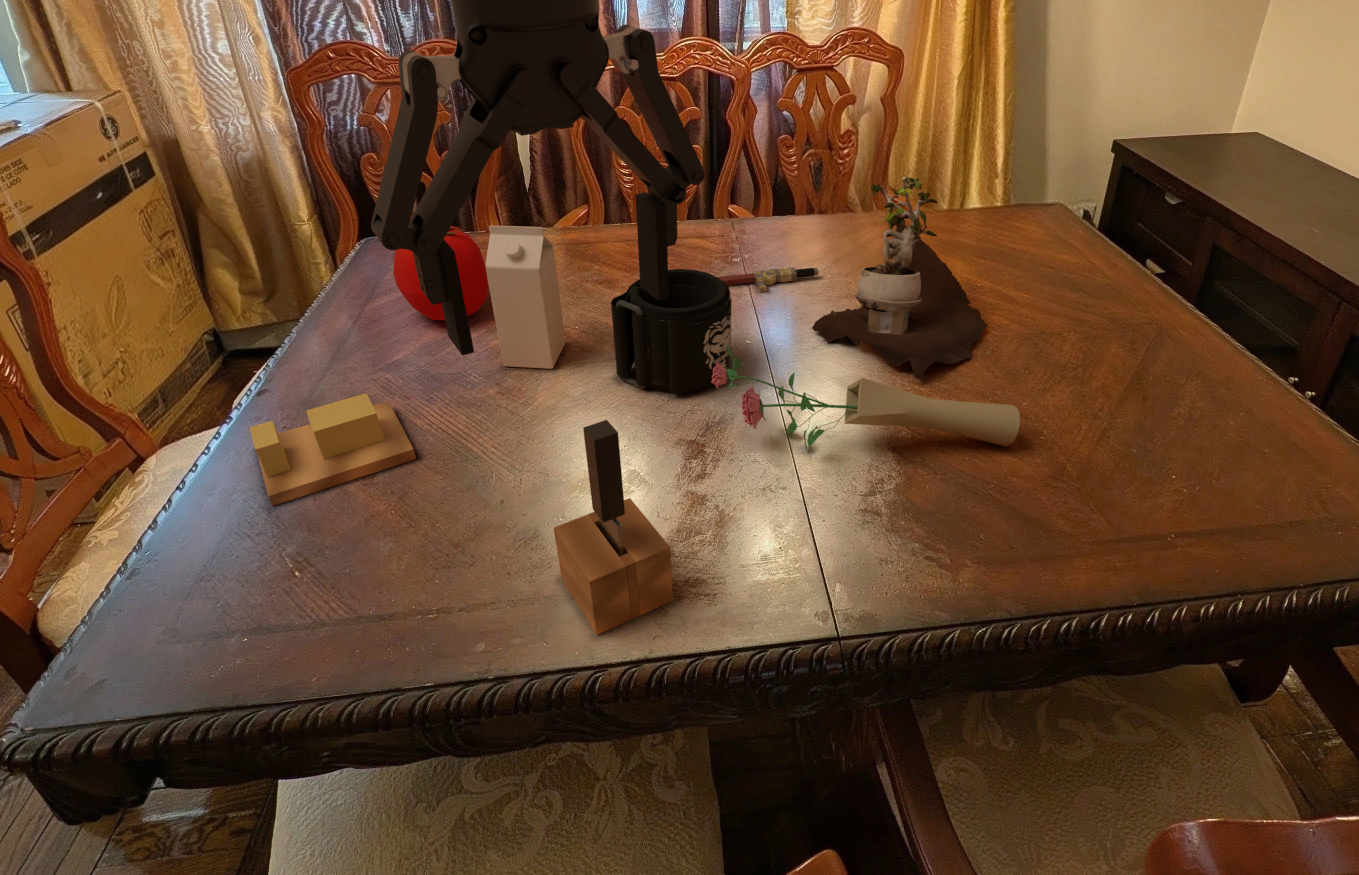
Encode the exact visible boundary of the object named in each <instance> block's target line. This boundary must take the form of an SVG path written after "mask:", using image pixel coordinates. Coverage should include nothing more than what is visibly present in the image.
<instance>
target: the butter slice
mask: <svg viewBox="0 0 1359 875" xmlns="http://www.w3.org/2000/svg"><path fill="white" fill-rule="evenodd" d="M249 429H250V434H251V438H252V443H253V446H254V450H255V452H256V454H257V458H258V457H259V458H258V460H259V459H260V462H261V464H262V466H263V469H264V471H265V473H266V476H267V477H270V476H273V475H276V474H280V473H283V472H286V471H289V470H290V467H289V463H288V460H287V457H286V453H285V450H284V447H283V445H282V442H281V440H280V437H279V435H278V433H279V432H278V430H277V427H276V425H275V422H274V421H273V420H269V421H266V422H263V423H259V424H256V425H252V426H249ZM260 462H259V463H260Z"/></svg>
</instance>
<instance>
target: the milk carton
mask: <svg viewBox="0 0 1359 875" xmlns="http://www.w3.org/2000/svg"><path fill="white" fill-rule="evenodd" d="M488 229H489V239H488V244H487V245H488V246H487V252H486V259H485V267H486V272H487V279H488V287H489V288H488V290H489V294H490V300H491V305H492V310H493V315H494V322H495V327H496V332H497V338H498V345H499V350H500V356H501V361H502V365H503V367H509V368H511V367H512V368H513V367H514V368H531V369H548V370H549V369H550V370H551V369H553V368H554V366H555V365H556V363H557V361H558V358H559V357H560V354H561V353H562V351H563V349H564V347H565V345H566V335H565V328H564V320H563V312H562V305H561V304H562V303H561V295H560V288H559V280H558V272H557V263H556V256H555V246H554V245H553V244H552V243H551V241H550V240H549V239H548V238H547V237H546V236H545V232H544V226H520V225H519V226H516V225H489V226H488Z"/></svg>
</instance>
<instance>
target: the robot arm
mask: <svg viewBox="0 0 1359 875" xmlns="http://www.w3.org/2000/svg"><path fill="white" fill-rule="evenodd" d="M450 1H451V6H452V12H453V19H454V24H455V28H456V29H455V30H456V36H457V37H456V46H455V50H454V53H453V55H423V54H421V53H418V52H417V51H415V50H411V49H407V50H404V51H402V52H401V53H400V55H399V57H398V71H399V80H400V81H399V82H400V90H401V91H400V92H401V99H400V105H399V108H398V111H397V112H398V113H397V115H396V116H397V117H396V120H395V125H394V129H393V133H392V136H391V141H390V145H389V148H388V153H387V156H386V161H385V165H384V170H383V174H382V177H381V182H380V185H379V189H378V194H377V197H376V200H375V201H376V202H375V206H374V210H373V214H372V218H371V221H370V228H371V230H372V233H373V234H374V236H376V238H377V240H378V241H379V242H380V243H381V244H382V246H383V247H384V248H385V249H386V250H389V251H395V250H398V249H407V250H411V251H412V253H413V257H414V262H415V266H416V271H417V275H418V279H419V284H420V288H421V290H422V291H423V293H424V294H425V295H426V297H427V298H428V300H429V301H430V302H431V304H432V305H434V304H439V303H442V307H443V312H444V317H445V320H444V322H445V326H446V329H447V330H446V331H447V335H448V338H449V340H450V341H451V342H452V344H453V345H454V346H455V348H456V350H458V352H459V353H460V354H461V356H466V355H470V354H473V353H475V348H474V343H473V339H472V334H471V327H470V322H469V318H468V317H469V316H467V312H466V307H465V302H464V297H463V291H462V286H461V281H460V276H459V271H458V266H457V260H456V255H455V251H454V250H453V249H452V248H451V247H450V246H449V244H448V243H447V242H446V241H445V240H444V238H445V236H446V234H447V232H448V230H449V229H450V227H451V226H453V224H454V222H455V220H456V218H457V216H458V215H459V213H460V211H461V209H462V207H463V206H464V204H465V203H466V200H467V199H468V197H469V195H470V193H471V191H472V189H473V188H474V187H475V184H476V183H477V181H478V179H479V177H480V176H481V174H482V172H483V170H484V168H485V167H486V165H487V163H488V161H489V159H490V158H491V156H492V154H493V153H494V151H497V150H499V149H500V147H501V146H502V144H503V143H504V141H505V140H506V138H507V136H508V134H509V132H511V133H514V134H518V135H519V136H521V137H523V136H529V135H535V134H537V133H539V132H541V131H543V130H545V129H547V128H548V129H555V130H563V129H564V130H565V129H570V128H574V124H575V123H576V122H578V121H579V120H580V119H581V120H582V121H584V122H585V123H586V124H587V125H588V127H590V128H591V129H592V130H593V132H595V133H596V135H597V136H599V138H600V139H601V140H602V141H603V142H604V143H605V144H606V145H607V147H608V148H610V150H612V152H613V153H614V154H615V155H616V156H617V157H618V158H619V159H620V160H621V161H622V163H624V165H626V167H627V168H628V169H630V171H631V172H632V173H633V174H634V175H635V177H637V178H638V179H639V180H640V181H641V182H642V183H643V184H644V186H645V187H646V188H647V189H649V193H648V192H647V191H644V192H640V193H635V210H636V229H637V231H636V232H637V250H638V269H639V270H638V271H639V272H638V273H639V279H640V287H642V288H643V289H644V290H645V291H647V292H648V293H649V294H651V295H652V296H653V297H654V298H656V299H657V300H658V301H662V300H665V299H669V288H668V270H669V257H668V248H669V247H672V246H676V243H677V240H678V237H679V236H678V205H680V204H682V203H683V202H684V201H685V200H686V198H687V195H688V194H687V188H688V187H690V186H699V185H700V184H701V183H702V182H703V181H704V179H705V174H706V173H705V169H704V167H703V164H702V163H701V161H700V159H699V155H698V153H697V152H696V149H695V148H694V146H693V144H692V141H691V139H690V137H689V134H688V133H687V130H686V128H685V126H684V124H683V122H682V120H681V117H680V115H679V113H678V111H677V108H676V107H675V105H674V103H673V100H672V98H671V96H670V93H669V92H668V89H667V87H666V85H665V83H664V80H663V79H662V77H661V74H660V72H659V66H658V59H657V58H658V57H657V50H656V42H655V41H656V40H655V37H654V35H653V34H652V32H651V31H649V30H647V29H643V28H639V27H636V26H633V25H630V24H622V25H620V26H619V27H618V28H617V30H616V32H615V33H611V34H608V35H604V36H603V34H602V31H601V27H600V23H599V21H600V19H599V18H600V0H450ZM609 61H610V62H611V63H612V66H613V68H614V69H615V70H616V71H618V72H620V73H622V76H623V78H624V81H625V83H626V85H627V87H628V90H629V91H630V93H631V96H632V97H633V100H634V102H635V104H636V105H637V107H638V110H639V112H640V113H641V115H642V117H643V120H644V121H645V123H646V125H647V127H648V129H649V131H650V133H651V136H652V138H653V140H654V142H655V143H656V145H657V147H658V150H659V152H660V154H661V156H662V157H663V159H664V161H665V163H666V165H667V166H666V167H664V166H663V165H662V164H661V162H660V161H659V160H658V159H657V158H656V157H655V155H653V153H652V152H651V151H650V150H649V149H648V148H647V147H646V145H645V144H644V143H643V142H642V141H641V140H640V139H639V138H638V137H637V135H636V134H635V133H634V132H633V131H632V130H631V129H630V128H629V127H628V126H627V124H626V123H625V122H624V121H623V120H622V118H620V117H619V115H618V112H617V110H616V109H615V108H614V107H613V106H612V104H610V103H609V102H608V100H607V99H606V98H605V97H604V96H603V95H602V94H601V92H600V91H599V90H598V89H597V87H598V85H599V83H600V81H601V78H602V76H603V75H604V73H605V71H606V68H607V67H608V65H609ZM456 81H458V82H459V83H460V84H461V85H462V86H463V87H464V88H465V89H466V90H467V92H468V93H469V94H470V95H471V96H472V97H473V98H472V100H471V102H470V103H469V105H468V107H467V108H466V110H465V112H464V114H463V116H462V118H461V121H460V127H459V130H458V132H457V134H456V136H455V137H454V139H453V140H452V143H451V145H450V147H449V148H448V150H447V151H446V153H445V156H444V158H443V159H442V161H441V163H440V164H439V166H438V168H437V170H436V171H435V173H434V175H433V177H432V179H431V181H430V183H429V184H428V186H427V188H426V190H425V192H424V193H423V195H422V197H421V199H420V201H419V203H418V204H417V206H416V208H415V210H414V206H415V203H416V200H417V196H418V193H419V192H418V191H419V188H420V184H421V180H422V177H423V173H424V169H425V165H426V163H427V162H426V161H427V159H428V158H427V157H428V154H429V151H430V146H431V144H432V143H431V142H432V138H433V135H434V131H435V128H436V124H437V117H438V110H439V109H438V108H439V103H440V102H441V103H442V102H443V101H445V100H446V99H447V98H448V96H449V92H450V87H451V85H452V84H453V83H454V82H456Z"/></svg>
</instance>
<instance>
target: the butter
mask: <svg viewBox="0 0 1359 875" xmlns="http://www.w3.org/2000/svg"><path fill="white" fill-rule="evenodd" d="M373 405H374V404H373V403H372V401H371V399H370V397H369V395H368V393H366V392H365V393H363V394H358V395H356V396H352V397H349V398H345V399H342V400H338V401H335V402H331V403H327V404H325V405H320V406H317V407H314V408H310V409H307V410H305V412H306V415H307V418H308V422H309V424H311V426H312V429H313V432H314V435H315V437H316V440H317V443H318V446H319V448H320V451H321V454H322V457H323V459H327V458H330V457H334V456H337V455H340V454H343V453H346V452H350V451H353V450H356V449H359V448H362V447H366V446H369V445H372V444H375V443H378V442H382V441H385V440H384V436H383V433H382V430H381V426H380V423H379V420H378V417H377V413H376V411H375V409H374V407H373Z"/></svg>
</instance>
